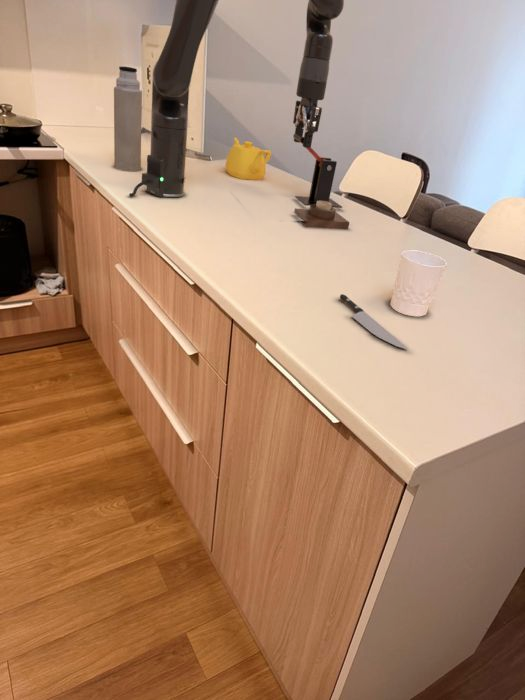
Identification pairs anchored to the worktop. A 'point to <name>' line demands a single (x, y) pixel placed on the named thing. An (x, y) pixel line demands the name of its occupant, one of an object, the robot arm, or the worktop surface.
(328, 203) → the button
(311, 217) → the button block
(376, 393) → the worktop surface
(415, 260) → the white cup
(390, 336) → the chef's knife
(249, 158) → the teapot
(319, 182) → the bracket
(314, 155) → the lever
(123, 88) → the thermos bottle
